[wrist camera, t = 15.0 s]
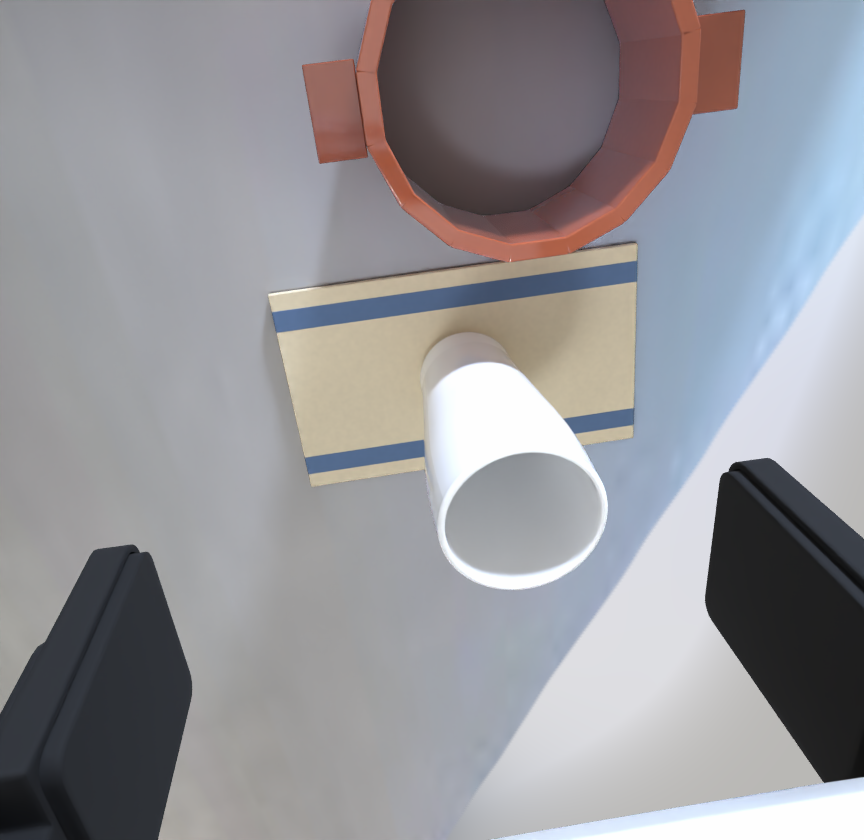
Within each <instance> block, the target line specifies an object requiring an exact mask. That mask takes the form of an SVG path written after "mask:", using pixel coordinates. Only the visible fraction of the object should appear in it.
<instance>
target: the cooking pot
mask: <svg viewBox="0 0 864 840" xmlns="http://www.w3.org/2000/svg"><path fill="white" fill-rule="evenodd" d="M395 1H396V0H370V4H369V7H368V11H367V16H366V20H365V25H364V30H363V34H362V39H361V44H360V48H359V53H358V58H357V62H356V67H355V65H354V60H353V59H346V60H338V61H330V62H322V63H314V64H306V65H302V69H303V75H304V81H305V86H306V92H307V98H308V103H309V109H310V115H311V120H312V126H313V132H314V137H315V143H316V149H317V154H318V160H319V163H320V164H322V163H330V162H337V161H345V160H352V159H360V158H367V157H368V155H367V148H368V150H369V152H370V154H371V156H372V158H373V159H374V161H375V163H376V165H377V166H378V168H379V170H380V172H381V174H382V175H383V177H384V179H385V181H386V183H387V184H388V186H389V188H390V190H391V191H392V193H393V195H394V197H395V199H396V200H397V202H398V204H399V205H400V206H401V208H402V209H403V210H404V211H406V212H407V213H408V214H409V215H411V216H412V217H413V218H414V219H416V220H417V221H418V222H419V223H421V224H422V225H423V226H424V227H426V228H427V229H428V230H430V231H431V232H432V233H433V234H435V235H436V236H437V237H438V238H440V239H441V240H442V241H443V242H445V243H446V244H447V245H448V246H451V247H452V248H456V249H459V250H463V251H467V252H471V253H474V254H478V255H482V256H485V257H489V258H493V259H497V260H500V261H504V262H517V261H524V260H531V259H538V258H545V257H553V256H560V255H567V254H568V253H572V252H574V251H576V250H577V249H579V248H581V247H583V246H584V245H586V244H588V243H590V242H592V241H593V240H595V239H597V238H599V237H600V236H602V235H604V234H606V233H607V232H609V231H611V230H613V229H615V228H616V227H618V226H620V225H622V224H623V223H624V222H626V221H627V220H628V218H629V217H630V216H631V215H632V214H633V213H634V211H635V210H636V209H637V208H638V207H639V206H640V205H641V203H642V202H643V201H644V200H645V199H646V198H647V196H648V195H649V194H650V193H651V192H652V191H653V189H654V188H655V187H656V186H657V185H658V184H659V182H660V181H661V180H662V179H663V178H664V177H665V175H666V174H667V173H668V172H669V171H668V170H670V169H671V166H672V164H673V161H674V159H675V157H676V154H677V152H678V149H679V147H680V144H681V142H682V139H683V137H684V134H685V132H686V129H687V127H688V124H689V122H690V119H691V117H692V115H693V114H701V113H709V112H716V111H724V110H731V109H737V107H738V95H739V82H740V70H741V58H742V45H743V33H744V21H745V10H738V11H730V12H722V13H714V14H706V15H698V16H697V13H696V10H695V7H694V3H693V0H604V1H605V4H606V6H607V9H608V12H609V15H610V17H611V20H612V23H613V26H614V29H615V31H616V34H617V37H618V40H619V42H620V63H619V99H618V102H617V105H616V108H615V111H614V113H613V116H612V119H611V122H610V124H609V127H608V130H607V133H606V135H605V138H604V141H603V144H602V147H601V148H600V150H599V151H598V152H597V153H596V154H595V156H594V157H593V158H592V159H591V161H590V162H589V163H588V164H587V165H586V167H585V168H584V169H583V170H582V172H581V173H580V174H579V175H578V177H577V178H576V179H575V180H574V181H573V183H572V184H571V185H570V186H569V187H567V188H566V189H564V190H562V191H561V192H559V193H557V194H555V195H554V196H552V197H550V198H548V199H547V200H545V201H543V202H542V203H540V204H538V205H536V206H535V207H533V208H531V209H530V210H525V211H517V212H510V213H503V214H495V215H488V216H482V215H479V214H475V213H472V212H468V211H464V210H461V209H457V208H454V207H450V206H447V205H443V204H440V203H439V202H438V201H436V200H435V199H434V198H433V197H432V196H430V195H429V194H428V193H427V192H425V191H424V190H423V189H422V188H420V187H419V186H418V185H417V184H416V183H414V182H413V181H412V180H411V179H409V178H408V177H407V176H406V175H405V174H404V173H403V171H402V169H401V167H400V165H399V163H398V162H397V160H396V158H395V156H394V154H393V152H392V151H391V149H390V147H389V145H388V143H387V141H386V138H385V131H384V123H383V116H382V108H381V101H380V93H379V86H378V78H377V71H378V66H379V62H380V57H381V53H382V49H383V44H384V40H385V35H386V31H387V26H388V22H389V17H390V13H391V9H392V6H393V4H394V3H395ZM366 145H367V148H366Z"/></svg>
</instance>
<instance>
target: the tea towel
mask: <svg viewBox="0 0 864 840" xmlns="http://www.w3.org/2000/svg"><path fill="white" fill-rule="evenodd" d="M637 247H638V244H637V243H628V244H621V245H614V246H606V247H599V248H592V249H585V250H578V251H574V252H572V253H568V254H567V255H560V256H553V257H545V258H538V259H531V260H524V261H517V262H504V261H499V262H492V263H485V264H478V265H471V266H464V267H456V268H449V269H442V270H435V271H428V272H421V273H414V274H406V275H399V276H392V277H385V278H378V279H371V280H364V281H356V282H349V283H342V284H335V285H328V286H321V287H314V288H306V289H299V290H292V291H285V292H278V293H271V294H269V295H268V298H269V302H270V306H271V311H272V316H273V320H274V324H275V329H276V333H277V337H278V342H279V346H280V350H281V355H282V359H283V364H284V368H285V373H286V377H287V381H288V386H289V390H290V395H291V399H292V403H293V408H294V412H295V417H296V421H297V425H298V430H299V434H300V439H301V443H302V447H303V452H304V456H305V461H306V465H307V470H308V474H309V478H310V483H311V486H312V487H314V486H321V485H327V484H334V483H340V482H347V481H353V480H360V479H366V478H373V477H379V476H386V475H393V474H399V473H406V472H412V471H419V470H425V461H424V422H423V397H422V392H421V387H420V371H421V367H422V364H423V361H424V359H425V357H426V355H427V354H428V352H429V351H430V350H431V349H432V348H433V347H434V346H435V345H436V344H437V343H438V342H439V341H441V340H442V339H444V338H446V337H448V336H450V335H453V334H456V333H461V332H477V333H482V334H485V335H487V336H490V337H492V338H493V339H495V340H496V341H498V342H499V343H500V344H501V345H502V346H503V347H504V348H505V349H506V351H507V352H508V354H509V355H510V357H511V359H512V360H513V362H514V363H515V364H516V365H517V366H518V368H519V369H520V370H521V371H522V372H523V373H524V374H525V376H526V377H527V378H528V379H529V380H530V381H531V382H532V384H533V385H534V386H535V387H536V388H537V389H538V390H539V391H540V393H541V394H542V395H543V396H544V397H545V398H546V399H547V400H548V402H549V403H550V404H551V405H552V406H553V407H554V408H555V409H556V411H557V412H558V413H559V414H560V415H561V417H562V418H563V419H564V420H565V422H566V423H567V424H568V425H569V427H570V428H571V429H572V431H573V432H574V434H575V435H576V437H577V438H578V440H579V441H580V443H581V445H588V444H595V443H602V442H608V441H615V440H621V439H628V438H633V425H634V378H635V335H636V291H637Z"/></svg>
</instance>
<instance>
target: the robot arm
mask: <svg viewBox="0 0 864 840" xmlns="http://www.w3.org/2000/svg"><path fill="white" fill-rule="evenodd" d="M705 603H706V608H707V611H708V614H709V616H710V618H711V620H712V621H713V623H714V624H715V626H716V627H717V629H718V630H719V632H720V633H721V634H722V636H723V637H724V639H725V640H726V642H727V643H728V645H729V646H730V648H731V649H732V650H733V652H734V653H735V655H736V656H737V658H738V659H739V660H740V662H741V663H742V665H743V666H744V668H745V669H746V671H747V672H748V674H749V675H750V676H751V678H752V679H753V681H754V682H755V684H756V685H757V687H758V688H759V690H760V691H761V692H762V694H763V695H764V697H765V698H766V700H767V701H768V703H769V704H770V705H771V707H772V708H773V710H774V711H775V713H776V714H777V716H778V717H779V718H780V720H781V721H782V723H783V724H784V726H785V727H786V729H787V730H788V731H789V733H790V734H791V736H792V737H793V739H794V740H795V741H796V743H797V744H798V746H799V747H800V749H801V750H802V751H803V753H804V755H805V756H806V758H807V759H808V760H809V762H810V763H811V765H812V766H813V768H814V769H815V770H816V772H817V773H818V775H819V776H820V778H821V779H822V781H823V782H824V783H821V784H815V785H808V786H803V787H796V788H790V789H784V790H778V791H773V792H767V793H760V794H755V795H749V796H742V797H736V798H731V799H724V800H718V801H713V802H706V803H700V804H694V805H689V806H683V807H677V808H670V809H664V810H659V811H653V812H646V813H641V814H635V815H629V816H623V817H617V818H611V819H606V820H600V821H595V822H588V823H582V824H576V825H571V826H565V827H559V828H553V829H547V830H542V831H536V832H530V833H524V834H519V835H513V836H507V837H501V838H496V839H490V840H864V539H863V538H862V537H861V536H860V535H859V534H858V533H856V532H855V531H854V530H853V529H852V528H851V527H849V526H848V525H847V524H846V523H845V522H844V521H842V519H840V518H839V517H838V516H837V515H836V514H835V513H834V512H832V511H831V510H830V509H829V508H828V507H827V506H825V505H824V504H823V503H822V502H821V501H820V500H819V499H817V498H816V497H815V496H814V495H813V494H812V493H811V492H809V491H808V490H807V489H806V488H805V487H804V486H802V485H801V484H800V483H799V482H798V481H797V480H796V479H795V478H793V477H792V476H791V475H790V474H789V473H788V472H787V471H785V470H784V469H783V468H782V467H781V466H780V465H778V464H777V463H776V462H775V461H774V460H772V459H770V458H764V459H756V460H749V461H742V462H735V463H733V464H732V465H731V467H730V469H729V472H726V473H723V474H722V476H721V478H720V483H719V491H718V499H717V507H716V515H715V523H714V531H713V539H712V546H711V554H710V562H709V571H708V578H707V586H706V594H705ZM191 697H192V680H191V675H190V671H189V668H188V665H187V662H186V659H185V656H184V653H183V650H182V647H181V644H180V641H179V638H178V635H177V632H176V629H175V626H174V623H173V620H172V617H171V614H170V611H169V608H168V604H167V601H166V598H165V595H164V592H163V589H162V586H161V583H160V580H159V577H158V574H157V571H156V568H155V565H154V562H153V559H152V557H151V555H150V554H149V553H148V552H142V553H140V552H139V550H138V548H137V547H136V546H135V545H125V546H118V547H110V548H103V549H97V550H94V551H93V553H92V554H91V555H90V557H89V559H88V561H87V563H86V565H85V567H84V569H83V571H82V573H81V574H80V576H79V578H78V580H77V582H76V584H75V586H74V588H73V590H72V592H71V594H70V595H69V597H68V599H67V601H66V603H65V605H64V607H63V609H62V611H61V613H60V615H59V617H58V618H57V620H56V622H55V624H54V626H53V628H52V630H51V632H50V634H49V636H48V638H47V640H46V641H45V642H44V643H43V644H41V645H40V646H38V647H37V649H36V650H35V651H34V653H33V654H32V656H31V658H30V659H29V661H28V663H27V665H26V667H25V669H24V671H23V673H22V674H21V676H20V678H19V680H18V682H17V684H16V686H15V688H14V689H13V691H12V693H11V695H10V697H9V699H8V701H7V702H6V704H5V706H4V708H3V710H2V712H1V714H0V840H158V836H159V832H160V828H161V824H162V819H163V815H164V811H165V807H166V803H167V798H168V794H169V790H170V786H171V782H172V777H173V773H174V769H175V765H176V761H177V756H178V752H179V748H180V744H181V740H182V735H183V731H184V727H185V723H186V719H187V714H188V710H189V706H190V702H191Z"/></svg>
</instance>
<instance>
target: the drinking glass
mask: <svg viewBox="0 0 864 840" xmlns="http://www.w3.org/2000/svg"><path fill="white" fill-rule="evenodd" d="M420 387H421V392H422V397H423V422H424V461H425V477H426V486H427V493H428V498H429V503H430V508H431V513H432V517H433V521H434V525H435V528H436V532H437V535H438V539H439V543H440V546H441V548H442V551H443V553H444V555H445V556H446V558H447V559H448V561H449V562H450V563H451V565H452V566H453V567H454V568H455V569H456V570H457V571H458V572H459V573H461V574H462V575H463V576H465V577H466V578H468V579H470V580H472V581H474V582H476V583H478V584H480V585H483V586H487V587H490V588H495V589H502V590H522V589H529V588H534V587H538V586H542V585H545V584H548V583H550V582H553V581H555V580H557V579H559V578H561V577H563V576H565V575H566V574H568V573H569V572H571V571H572V570H574V569H575V568H576V567H578V566H579V565H580V564H581V563H582V562H583V561H584V560H585V559H586V558H587V557H588V556H589V555H590V554H591V552H592V551H593V550H594V548H595V547H596V545H597V544H598V542H599V540H600V538H601V536H602V534H603V531H604V529H605V525H606V521H607V515H608V502H607V496H606V491H605V488H604V485H603V483H602V481H601V479H600V477H599V476H598V474H597V472H596V470H595V468H594V466H593V464H592V462H591V460H590V458H589V456H588V455H587V453H586V451H585V450H584V448H583V446H582V445H581V443H580V441H579V440H578V438H577V437H576V435H575V434H574V432H573V431H572V429H571V428H570V427H569V425H568V424H567V423H566V422H565V420H564V419H563V418H562V417H561V415H560V414H559V413H558V412H557V411H556V409H555V408H554V407H553V406H552V405H551V404H550V403H549V402H548V400H547V399H546V398H545V397H544V396H543V395H542V394H541V393H540V391H539V390H538V389H537V388H536V387H535V386H534V385H533V384H532V382H531V381H530V380H529V379H528V378H527V377H526V376H525V374H524V373H523V372H522V371H521V370H520V369H519V368H518V366H517V365H516V364H515V363H514V362H513V360H512V359H511V357H510V355H509V354H508V352H507V351H506V349H505V348H504V347H503V346H502V345H501V344H500V343H499V342H498V341H496V340H495V339H493V338H492V337H490V336H487V335H485V334H482V333H477V332H461V333H456V334H453V335H450V336H448V337H446V338H444V339H442V340H441V341H439V342H438V343H437V344H436V345H435V346H434V347H433V348H432V349H431V350H430V351H429V352H428V354H427V355H426V357H425V359H424V361H423V364H422V367H421V371H420Z"/></svg>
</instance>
